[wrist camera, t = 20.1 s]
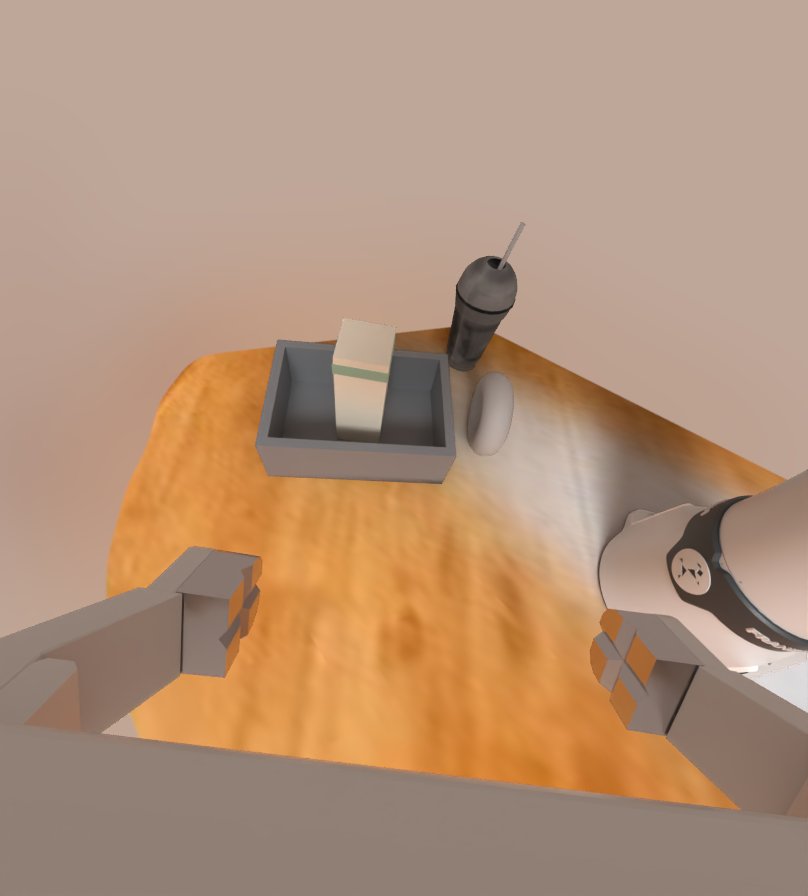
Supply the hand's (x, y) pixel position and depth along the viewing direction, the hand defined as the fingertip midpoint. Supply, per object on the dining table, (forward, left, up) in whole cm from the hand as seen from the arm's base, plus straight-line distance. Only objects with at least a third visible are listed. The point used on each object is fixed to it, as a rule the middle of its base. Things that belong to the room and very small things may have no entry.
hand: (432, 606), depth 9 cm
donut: (-13, -24, -32) cm, 42 cm away
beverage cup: (-12, -37, -32) cm, 50 cm away
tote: (+2, -24, -31) cm, 40 cm away
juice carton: (+2, -24, -30) cm, 39 cm away
